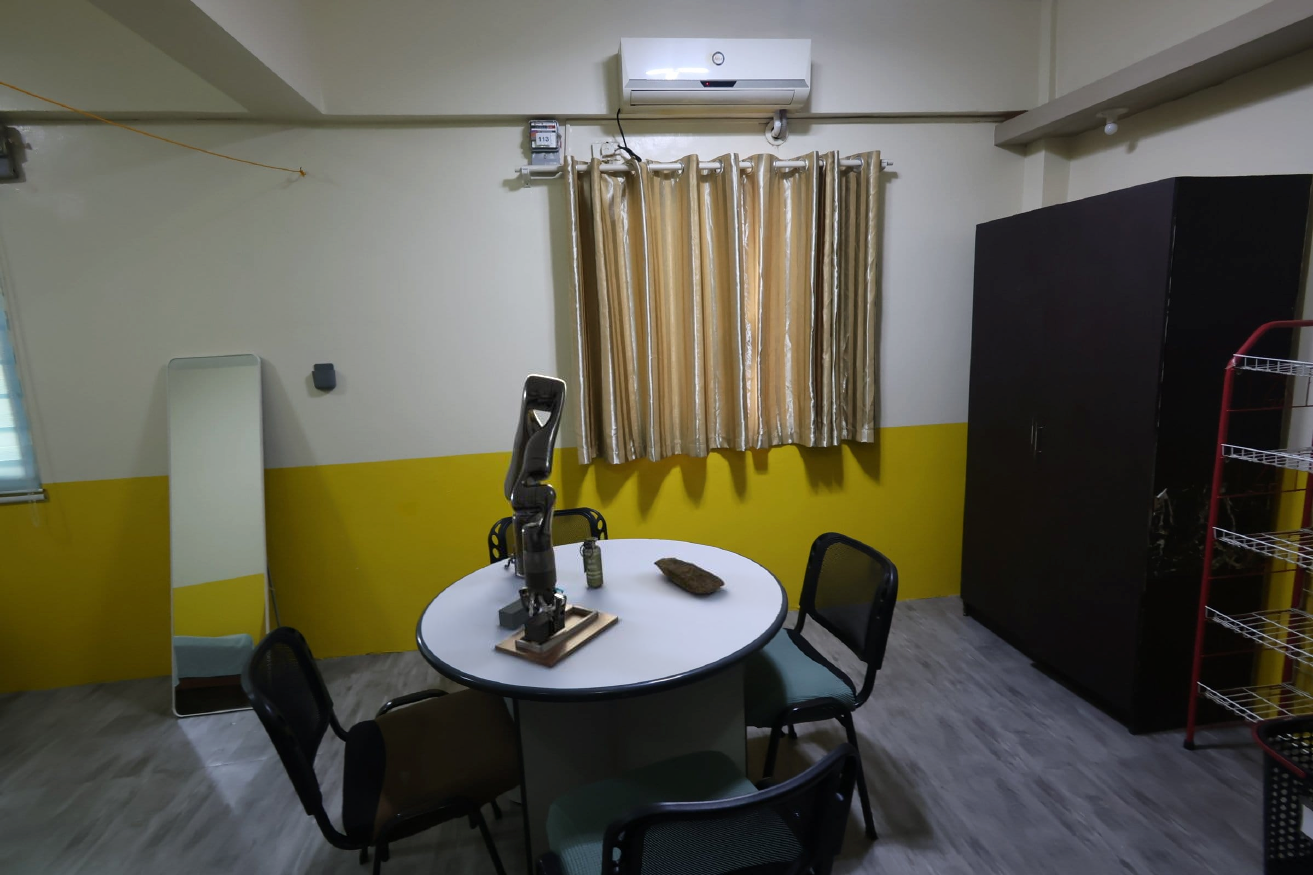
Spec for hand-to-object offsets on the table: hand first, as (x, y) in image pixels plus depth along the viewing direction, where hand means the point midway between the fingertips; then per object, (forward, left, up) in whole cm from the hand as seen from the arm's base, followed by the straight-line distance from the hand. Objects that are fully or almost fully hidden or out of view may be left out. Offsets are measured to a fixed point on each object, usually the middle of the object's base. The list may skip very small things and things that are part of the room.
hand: (545, 631), depth 150 cm
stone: (+13, +47, -3) cm, 49 cm away
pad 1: (-15, +6, -3) cm, 16 cm away
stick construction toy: (-18, +19, -3) cm, 26 cm away
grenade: (-11, +33, -3) cm, 35 cm away
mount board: (0, +5, -3) cm, 5 cm away
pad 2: (0, 0, 0) cm, 0 cm away
